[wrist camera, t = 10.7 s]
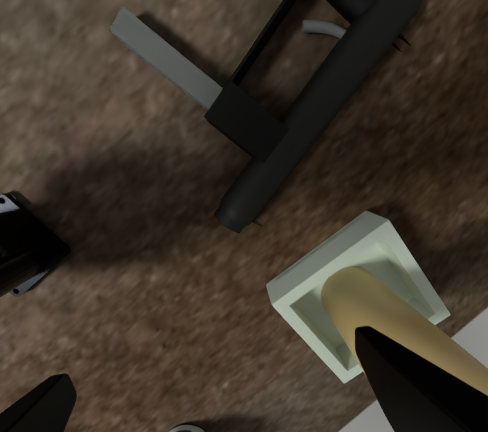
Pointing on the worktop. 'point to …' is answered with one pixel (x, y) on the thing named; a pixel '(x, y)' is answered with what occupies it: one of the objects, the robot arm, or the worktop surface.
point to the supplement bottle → (186, 429)
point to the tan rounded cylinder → (394, 323)
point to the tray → (340, 256)
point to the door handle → (302, 109)
